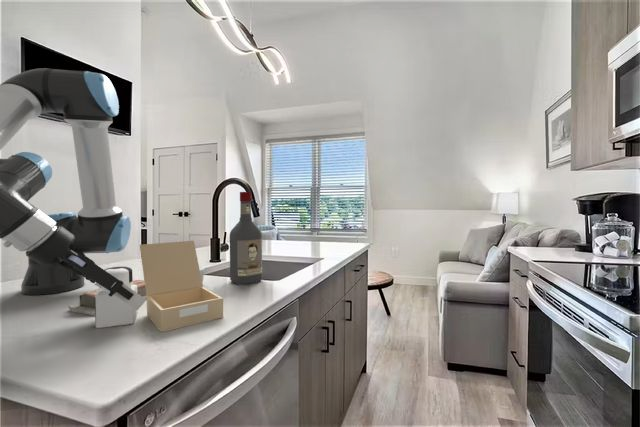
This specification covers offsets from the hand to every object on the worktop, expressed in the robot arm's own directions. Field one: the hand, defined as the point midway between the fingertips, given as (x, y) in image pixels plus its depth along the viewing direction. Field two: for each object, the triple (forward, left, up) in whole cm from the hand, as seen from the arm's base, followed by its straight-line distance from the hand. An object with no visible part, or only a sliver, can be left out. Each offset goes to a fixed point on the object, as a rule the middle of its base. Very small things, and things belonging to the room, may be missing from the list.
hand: (131, 299), depth 75 cm
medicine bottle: (0, -3, -4) cm, 5 cm away
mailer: (+4, +10, -4) cm, 11 cm away
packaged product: (-15, -1, -5) cm, 16 cm away
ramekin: (-23, +19, -4) cm, 30 cm away
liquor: (-15, +36, -4) cm, 39 cm away
